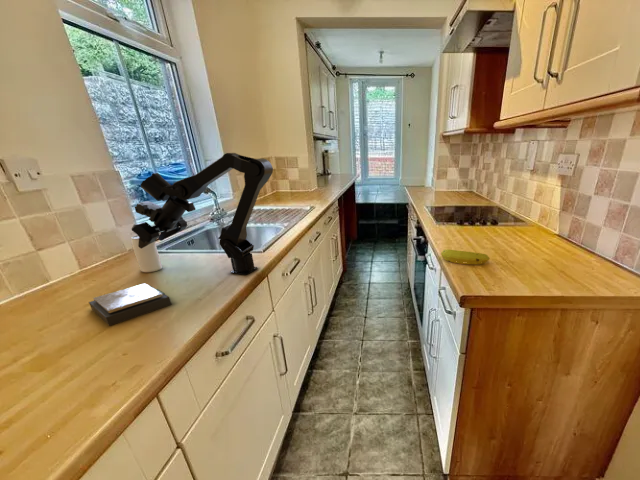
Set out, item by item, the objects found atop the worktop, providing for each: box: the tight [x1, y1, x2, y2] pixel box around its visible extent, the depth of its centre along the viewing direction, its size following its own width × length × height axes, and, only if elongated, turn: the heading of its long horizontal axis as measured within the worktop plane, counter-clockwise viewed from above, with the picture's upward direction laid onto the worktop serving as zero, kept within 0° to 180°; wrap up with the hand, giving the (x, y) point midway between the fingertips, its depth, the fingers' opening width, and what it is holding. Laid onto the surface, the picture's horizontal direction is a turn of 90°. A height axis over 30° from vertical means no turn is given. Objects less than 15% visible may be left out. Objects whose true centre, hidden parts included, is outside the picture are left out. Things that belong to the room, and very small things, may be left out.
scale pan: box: [92, 283, 163, 313], centre depth 85 cm, size 12×12×1 cm
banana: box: [440, 248, 490, 265], centre depth 120 cm, size 5×17×15 cm
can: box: [130, 234, 163, 274], centre depth 110 cm, size 6×6×12 cm
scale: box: [88, 284, 172, 327], centre depth 86 cm, size 14×14×2 cm
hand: (150, 243), depth 108 cm, fingers open, 9 cm apart
